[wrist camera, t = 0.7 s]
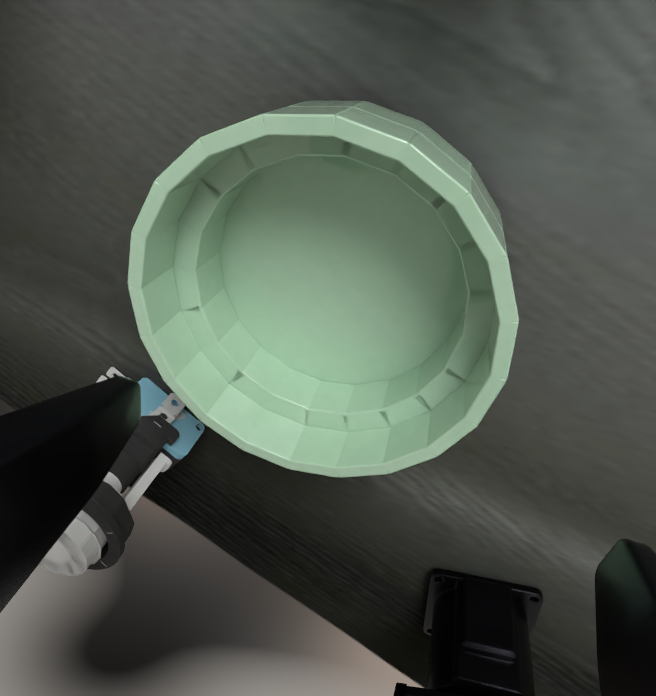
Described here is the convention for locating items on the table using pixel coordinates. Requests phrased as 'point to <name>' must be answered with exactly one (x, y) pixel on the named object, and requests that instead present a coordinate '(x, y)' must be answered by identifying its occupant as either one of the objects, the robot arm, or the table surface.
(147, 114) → the table surface
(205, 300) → the bowl
